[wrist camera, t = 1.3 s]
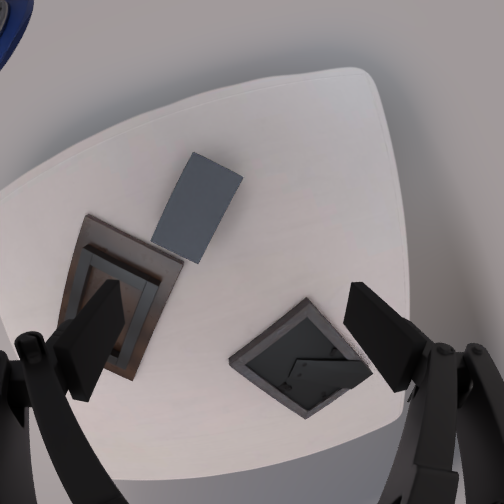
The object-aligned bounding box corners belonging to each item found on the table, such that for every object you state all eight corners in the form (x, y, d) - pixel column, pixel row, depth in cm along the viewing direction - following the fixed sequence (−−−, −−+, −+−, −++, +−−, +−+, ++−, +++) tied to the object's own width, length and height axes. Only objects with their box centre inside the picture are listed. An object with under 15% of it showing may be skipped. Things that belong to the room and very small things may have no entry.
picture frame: (368, 366, 41) (306, 297, 36) (373, 373, 39) (311, 304, 34) (303, 413, 42) (228, 358, 37) (306, 421, 41) (229, 367, 35)
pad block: (201, 246, 32) (198, 264, 27) (161, 227, 31) (150, 241, 26) (239, 175, 31) (243, 177, 25) (198, 154, 29) (193, 151, 24)
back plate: (133, 377, 37) (130, 388, 34) (57, 338, 34) (50, 347, 31) (184, 261, 33) (182, 269, 30) (88, 213, 30) (79, 218, 27)
